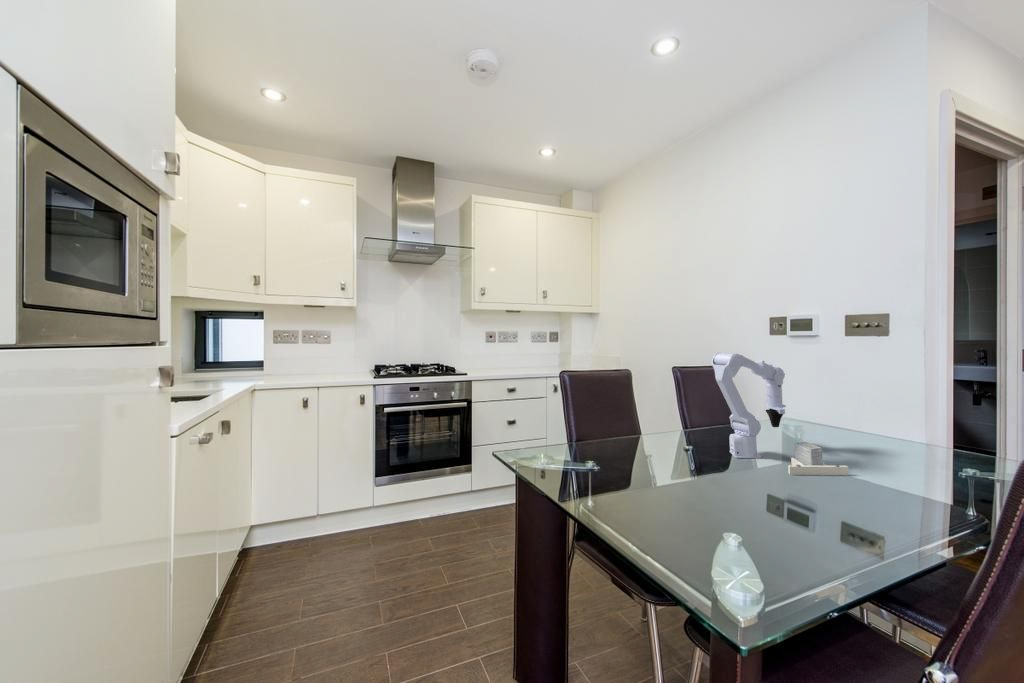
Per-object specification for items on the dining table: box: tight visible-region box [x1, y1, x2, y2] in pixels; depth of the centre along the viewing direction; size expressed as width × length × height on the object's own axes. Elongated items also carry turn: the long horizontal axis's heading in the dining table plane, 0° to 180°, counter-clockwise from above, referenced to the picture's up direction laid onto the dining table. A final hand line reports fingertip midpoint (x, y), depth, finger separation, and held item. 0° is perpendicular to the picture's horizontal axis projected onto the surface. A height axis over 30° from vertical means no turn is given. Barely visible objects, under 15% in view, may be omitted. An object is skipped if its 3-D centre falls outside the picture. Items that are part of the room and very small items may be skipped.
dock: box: [787, 457, 849, 476], centre depth 144 cm, size 18×11×3 cm, turn 77°
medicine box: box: [794, 441, 824, 466], centre depth 146 cm, size 8×4×9 cm, turn 3°
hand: (775, 426), depth 167 cm, fingers closed
